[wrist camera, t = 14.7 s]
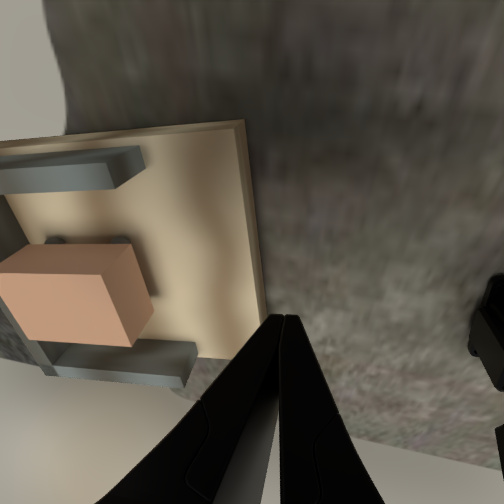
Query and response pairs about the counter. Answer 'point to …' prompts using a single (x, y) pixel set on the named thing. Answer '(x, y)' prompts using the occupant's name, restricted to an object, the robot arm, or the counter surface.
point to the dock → (146, 238)
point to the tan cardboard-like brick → (77, 292)
